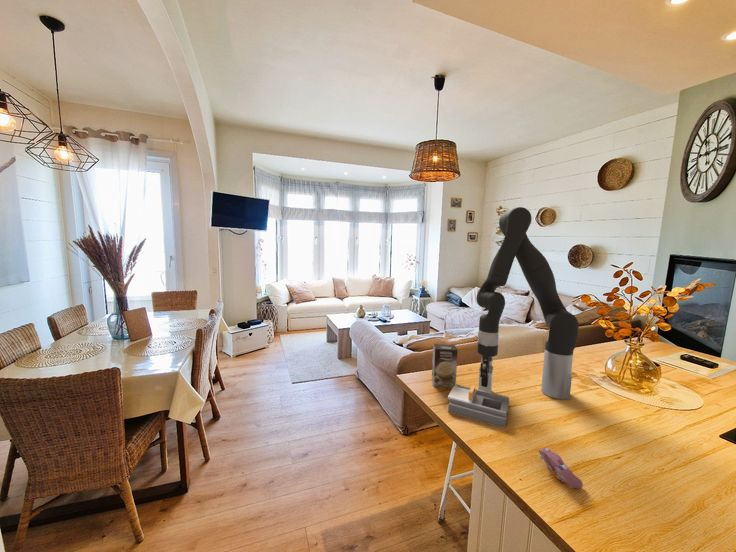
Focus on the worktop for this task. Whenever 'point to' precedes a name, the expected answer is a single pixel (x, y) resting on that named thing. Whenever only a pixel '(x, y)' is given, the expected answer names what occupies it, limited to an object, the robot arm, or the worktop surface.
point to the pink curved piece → (559, 468)
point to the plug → (489, 386)
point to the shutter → (463, 393)
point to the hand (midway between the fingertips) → (485, 382)
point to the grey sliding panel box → (482, 407)
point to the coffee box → (444, 365)
